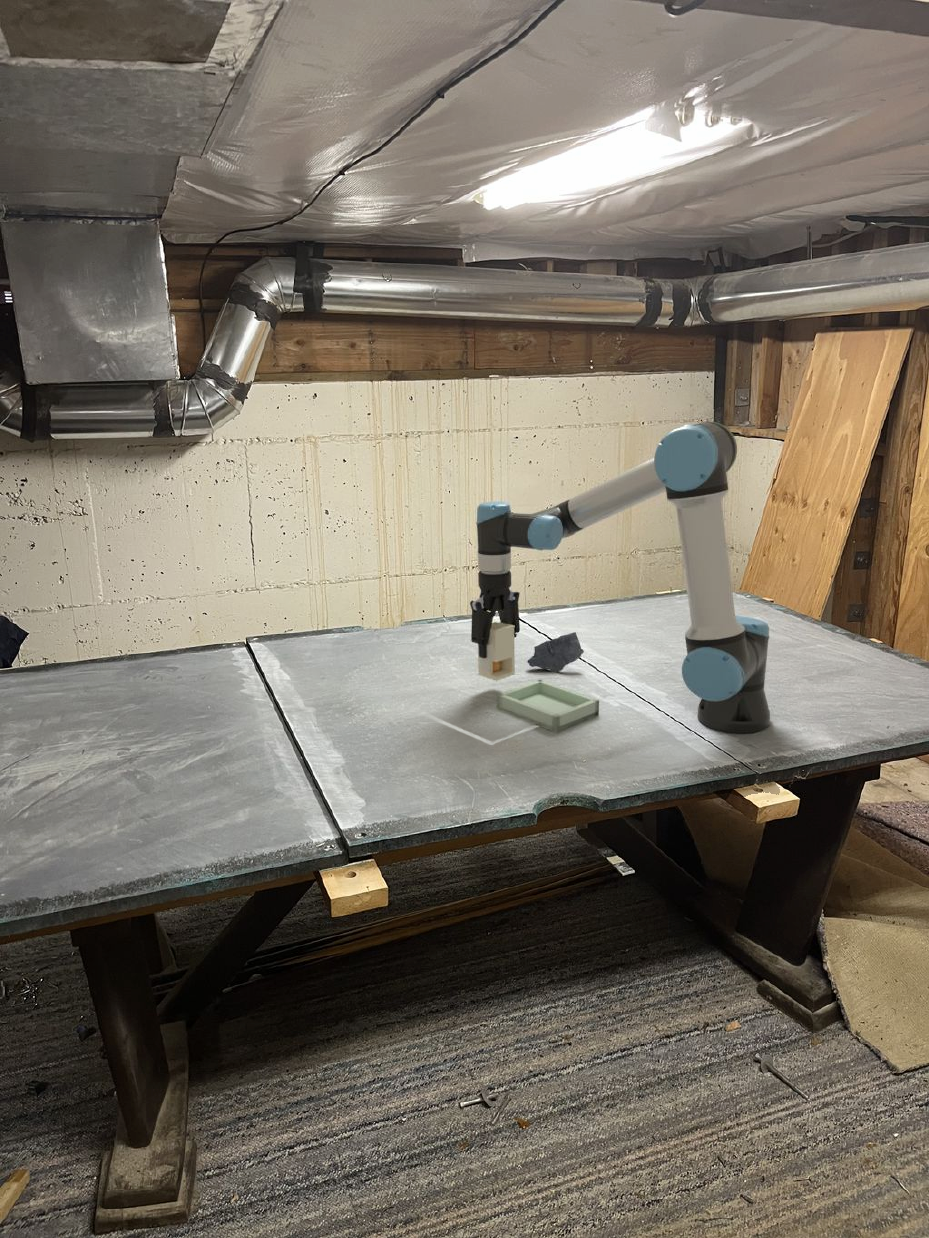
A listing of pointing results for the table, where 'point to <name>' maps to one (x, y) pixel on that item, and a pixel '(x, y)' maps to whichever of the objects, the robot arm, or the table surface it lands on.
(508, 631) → the hollow box
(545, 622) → the table surface
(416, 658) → the table surface
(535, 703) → the tray
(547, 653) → the stone
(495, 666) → the ball
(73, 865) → the table surface
